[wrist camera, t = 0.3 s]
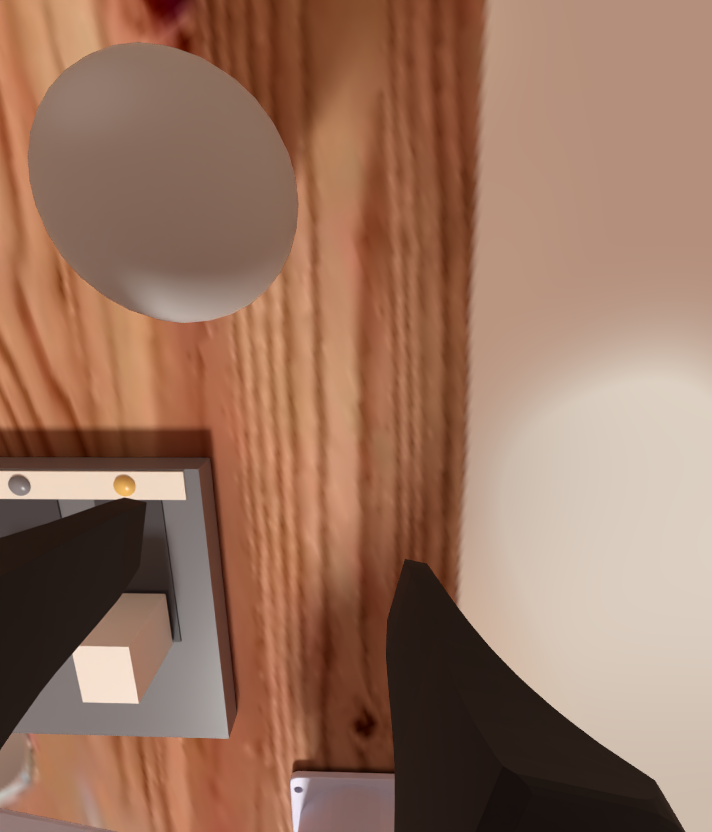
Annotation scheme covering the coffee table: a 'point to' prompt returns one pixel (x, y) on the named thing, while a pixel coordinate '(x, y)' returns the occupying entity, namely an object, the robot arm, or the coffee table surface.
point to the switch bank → (140, 590)
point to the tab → (124, 650)
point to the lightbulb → (163, 182)
